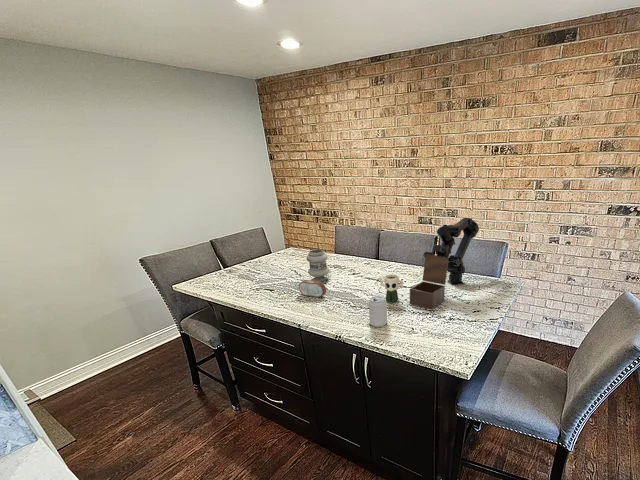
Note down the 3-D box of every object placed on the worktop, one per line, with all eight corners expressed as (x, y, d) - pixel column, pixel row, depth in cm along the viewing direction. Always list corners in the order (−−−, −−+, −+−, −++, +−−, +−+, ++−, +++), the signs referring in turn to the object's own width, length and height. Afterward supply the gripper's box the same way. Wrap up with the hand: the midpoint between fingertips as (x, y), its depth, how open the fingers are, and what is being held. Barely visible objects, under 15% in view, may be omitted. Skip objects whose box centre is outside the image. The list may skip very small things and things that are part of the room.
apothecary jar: (305, 282, 197) (301, 252, 190) (317, 276, 207) (313, 247, 200) (322, 284, 192) (319, 254, 185) (334, 278, 203) (331, 249, 196)
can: (369, 320, 149) (368, 295, 145) (386, 319, 150) (385, 294, 145) (369, 328, 142) (368, 302, 138) (387, 327, 143) (386, 301, 138)
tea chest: (432, 309, 159) (432, 293, 156) (409, 303, 166) (409, 288, 163) (444, 300, 169) (444, 285, 166) (422, 295, 175) (422, 281, 172)
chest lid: (448, 257, 162) (449, 257, 163) (425, 254, 169) (426, 254, 170) (444, 284, 165) (445, 284, 166) (422, 280, 172) (423, 280, 172)
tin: (327, 296, 176) (325, 281, 173) (324, 298, 173) (322, 283, 170) (302, 293, 181) (300, 278, 177) (299, 295, 178) (297, 280, 175)
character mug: (380, 303, 166) (379, 278, 161) (382, 297, 173) (381, 273, 168) (402, 304, 165) (401, 279, 160) (403, 298, 172) (403, 274, 167)
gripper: (425, 236, 171) (413, 262, 167) (459, 240, 161) (447, 268, 157) (432, 248, 180) (421, 273, 176) (464, 252, 170) (454, 279, 166)
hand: (435, 273), depth 169 cm, fingers closed
